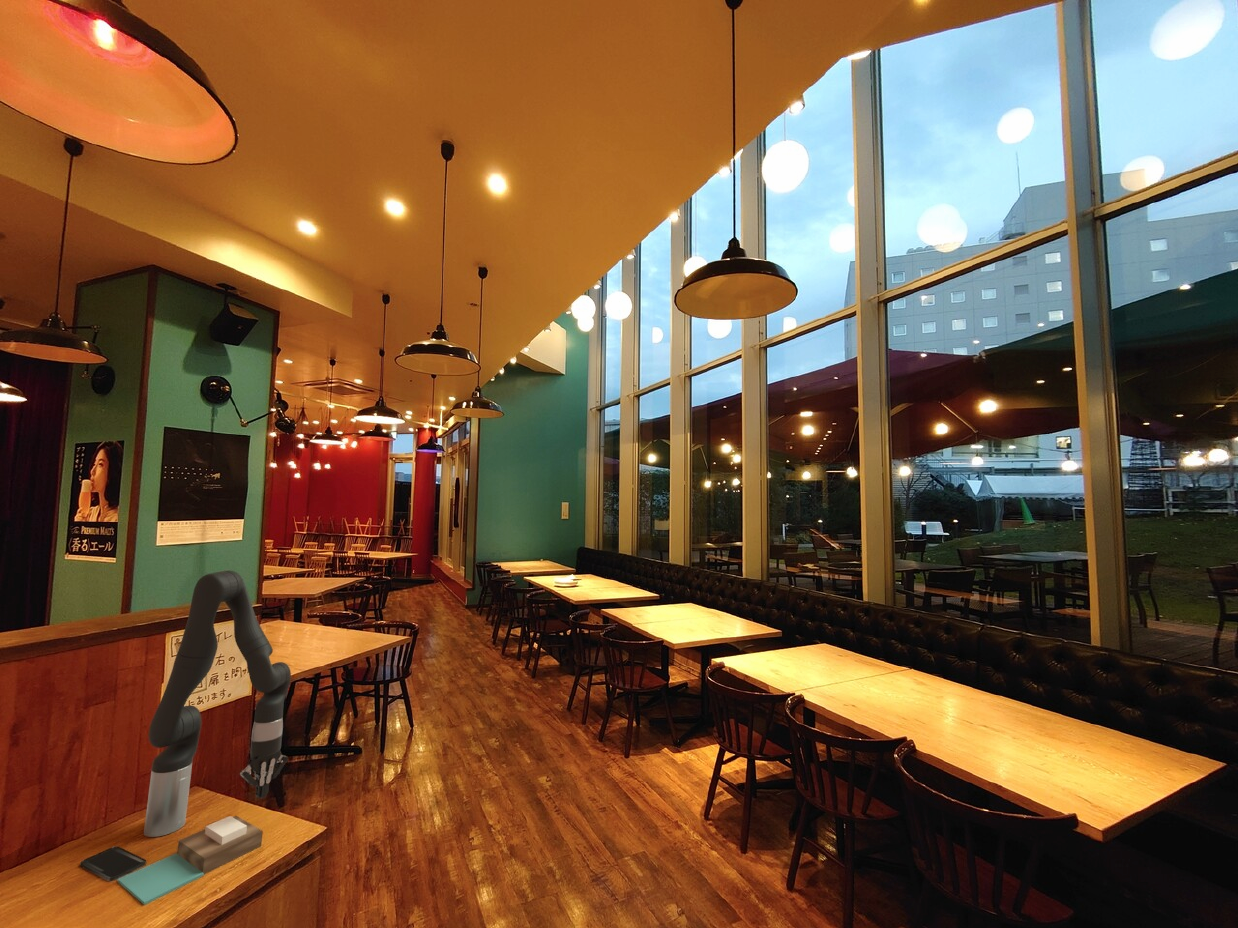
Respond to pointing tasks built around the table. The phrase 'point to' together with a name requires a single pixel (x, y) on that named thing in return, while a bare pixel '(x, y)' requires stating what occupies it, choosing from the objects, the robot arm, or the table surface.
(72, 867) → the table surface
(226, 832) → the white rectangular block
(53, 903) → the table surface
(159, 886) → the mat
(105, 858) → the phone
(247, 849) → the block
